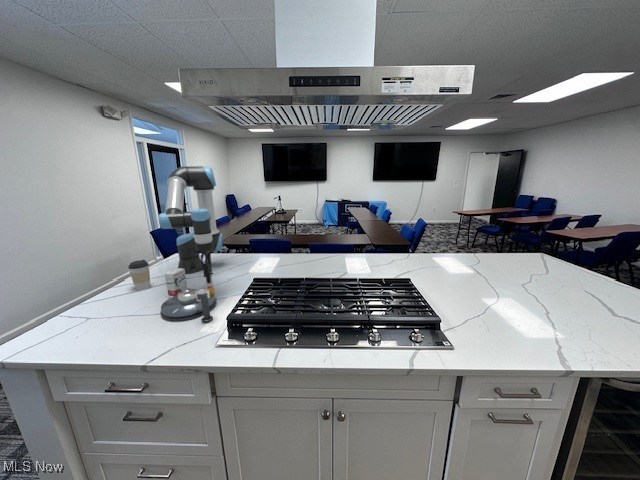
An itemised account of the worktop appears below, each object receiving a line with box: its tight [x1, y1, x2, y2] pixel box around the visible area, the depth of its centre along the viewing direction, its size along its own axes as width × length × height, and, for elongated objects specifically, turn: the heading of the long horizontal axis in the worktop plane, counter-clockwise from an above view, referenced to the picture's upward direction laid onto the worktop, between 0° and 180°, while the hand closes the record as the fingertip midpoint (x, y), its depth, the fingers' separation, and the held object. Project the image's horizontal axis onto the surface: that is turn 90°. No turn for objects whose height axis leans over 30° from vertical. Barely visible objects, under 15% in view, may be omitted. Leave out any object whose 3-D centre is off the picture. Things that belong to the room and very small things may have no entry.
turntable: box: [160, 285, 216, 318], centre depth 114 cm, size 22×22×6 cm
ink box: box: [164, 267, 189, 296], centre depth 130 cm, size 9×5×12 cm, turn 167°
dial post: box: [196, 288, 214, 324], centre depth 104 cm, size 5×5×13 cm
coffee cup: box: [128, 259, 151, 291], centre depth 135 cm, size 9×9×15 cm
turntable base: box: [160, 297, 218, 323], centre depth 115 cm, size 23×23×1 cm
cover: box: [178, 288, 198, 305], centre depth 114 cm, size 8×8×6 cm
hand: (210, 287), depth 123 cm, fingers closed
